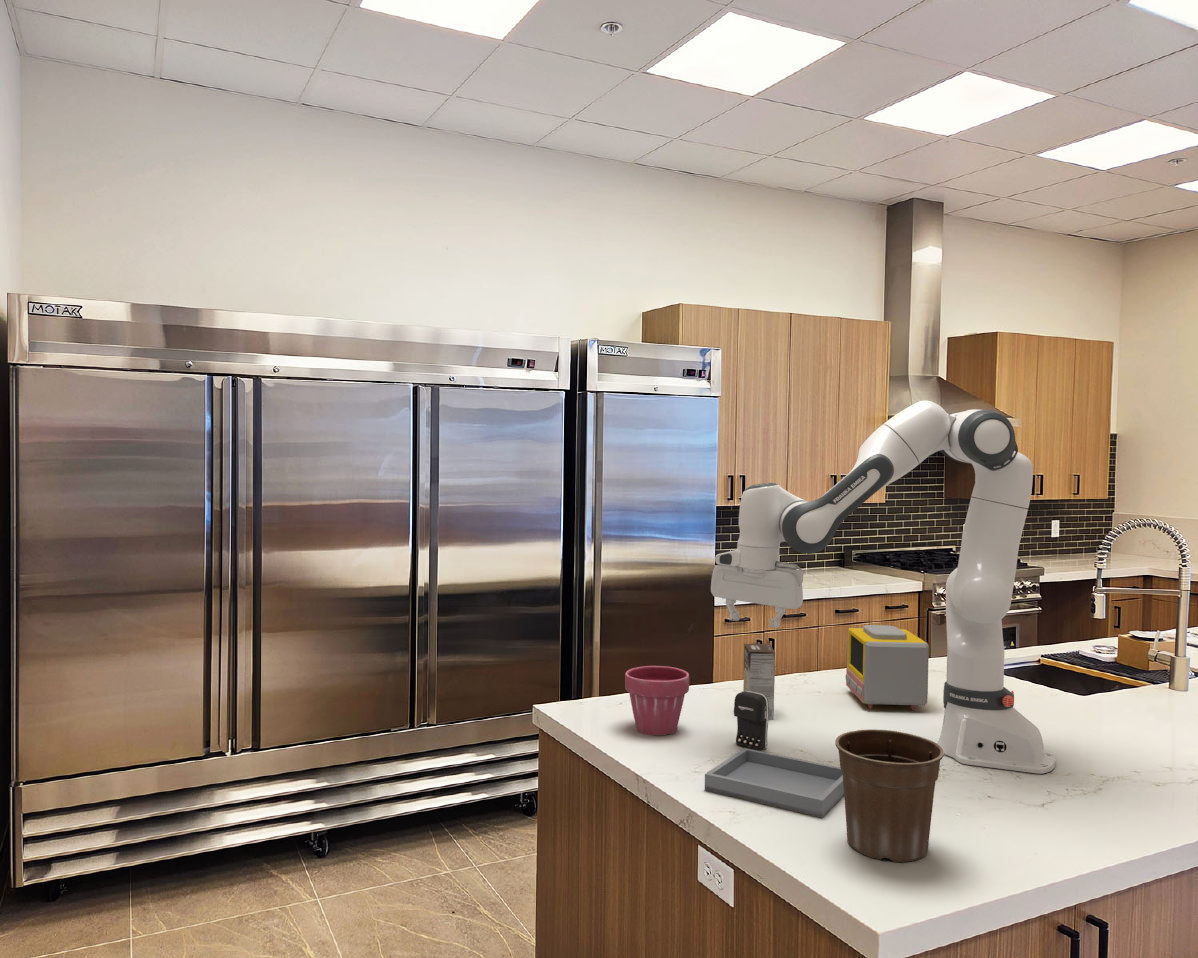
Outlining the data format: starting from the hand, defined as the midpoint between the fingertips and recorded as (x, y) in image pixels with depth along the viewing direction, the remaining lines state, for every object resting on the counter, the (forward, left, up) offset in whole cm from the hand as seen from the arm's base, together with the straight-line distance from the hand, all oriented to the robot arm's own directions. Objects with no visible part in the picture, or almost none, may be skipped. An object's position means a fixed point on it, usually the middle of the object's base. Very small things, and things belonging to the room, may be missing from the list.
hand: (754, 623), depth 189 cm
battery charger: (0, +2, -26) cm, 26 cm away
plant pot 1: (+22, +3, -26) cm, 34 cm away
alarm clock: (-14, -51, -26) cm, 59 cm away
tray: (-14, +21, -26) cm, 36 cm away
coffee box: (+8, -22, -26) cm, 35 cm away
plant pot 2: (-37, +35, -26) cm, 57 cm away
